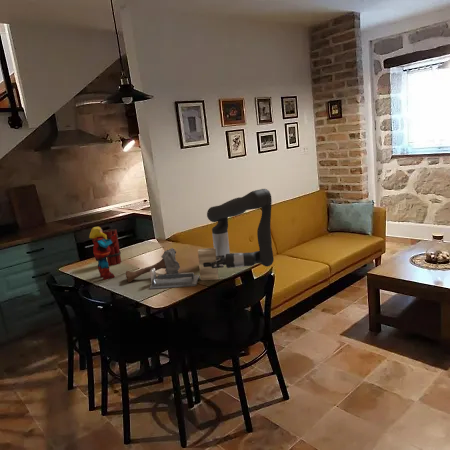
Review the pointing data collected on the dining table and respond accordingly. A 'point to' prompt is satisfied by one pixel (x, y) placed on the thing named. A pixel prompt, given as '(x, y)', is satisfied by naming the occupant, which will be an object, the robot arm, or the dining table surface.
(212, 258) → the wooden block
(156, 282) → the rail
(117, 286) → the dining table surface
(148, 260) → the dining table surface
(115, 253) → the dynamite
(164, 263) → the hammer
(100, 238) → the toy
